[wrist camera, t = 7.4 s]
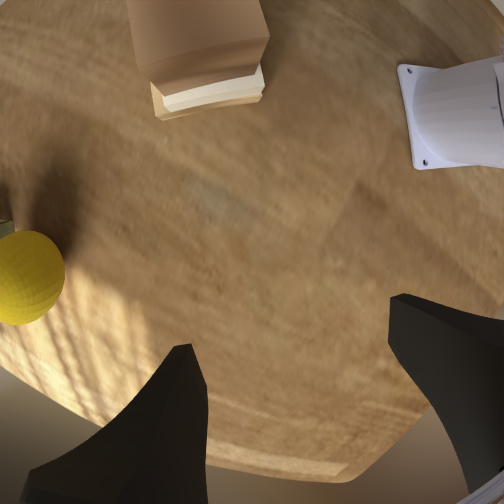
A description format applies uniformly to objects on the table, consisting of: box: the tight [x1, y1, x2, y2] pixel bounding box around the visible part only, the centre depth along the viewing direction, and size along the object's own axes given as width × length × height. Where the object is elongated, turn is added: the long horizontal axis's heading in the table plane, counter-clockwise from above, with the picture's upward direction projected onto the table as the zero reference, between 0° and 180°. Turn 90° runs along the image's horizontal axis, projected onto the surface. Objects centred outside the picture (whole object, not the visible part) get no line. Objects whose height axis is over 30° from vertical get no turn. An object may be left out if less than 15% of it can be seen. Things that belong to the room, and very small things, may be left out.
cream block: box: [162, 62, 265, 112], centre depth 13 cm, size 5×5×2 cm
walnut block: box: [126, 0, 270, 97], centre depth 10 cm, size 4×4×5 cm
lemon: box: [0, 230, 65, 325], centre depth 14 cm, size 6×6×8 cm
